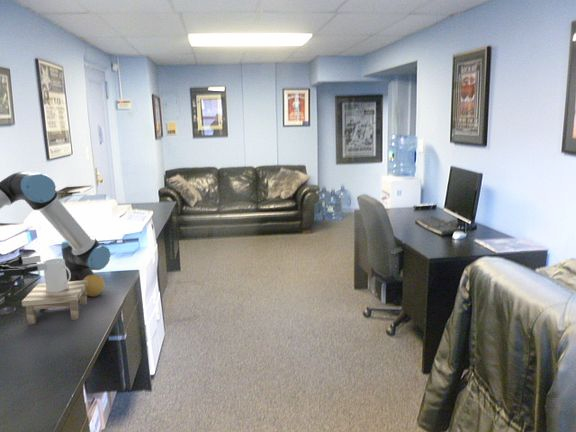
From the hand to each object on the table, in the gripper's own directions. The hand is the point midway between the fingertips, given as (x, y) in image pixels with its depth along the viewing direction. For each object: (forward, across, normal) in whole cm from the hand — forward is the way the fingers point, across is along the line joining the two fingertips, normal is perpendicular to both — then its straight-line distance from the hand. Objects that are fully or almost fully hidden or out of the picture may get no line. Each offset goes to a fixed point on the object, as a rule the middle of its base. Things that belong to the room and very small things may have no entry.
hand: (43, 261), depth 186 cm
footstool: (+4, 0, -23) cm, 23 cm away
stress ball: (+20, -11, -23) cm, 33 cm away
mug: (+5, 0, -13) cm, 14 cm away
